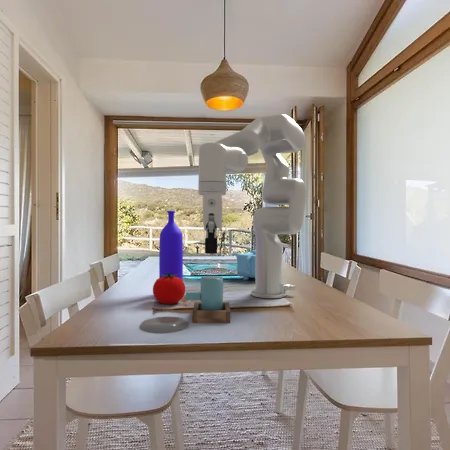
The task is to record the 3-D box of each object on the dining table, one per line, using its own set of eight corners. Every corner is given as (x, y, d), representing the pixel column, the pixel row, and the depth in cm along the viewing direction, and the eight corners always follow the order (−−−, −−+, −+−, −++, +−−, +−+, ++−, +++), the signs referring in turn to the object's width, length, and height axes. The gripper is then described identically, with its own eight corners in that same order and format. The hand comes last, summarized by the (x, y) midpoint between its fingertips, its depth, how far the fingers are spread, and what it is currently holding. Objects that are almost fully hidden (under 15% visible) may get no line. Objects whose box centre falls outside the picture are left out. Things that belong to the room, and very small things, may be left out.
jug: (222, 314, 105) (222, 275, 104) (223, 320, 99) (223, 280, 98) (187, 314, 105) (187, 275, 104) (185, 320, 98) (185, 280, 98)
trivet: (189, 320, 101) (189, 316, 100) (186, 334, 89) (186, 330, 88) (145, 320, 100) (145, 316, 100) (136, 334, 88) (136, 330, 88)
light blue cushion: (275, 277, 167) (275, 249, 166) (259, 283, 154) (259, 252, 153) (240, 274, 176) (240, 247, 176) (223, 279, 163) (223, 250, 163)
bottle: (178, 298, 126) (178, 211, 125) (155, 296, 128) (155, 210, 127) (185, 292, 135) (185, 211, 133) (164, 291, 136) (164, 211, 135)
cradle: (229, 314, 107) (229, 302, 107) (230, 324, 97) (230, 311, 97) (194, 314, 107) (194, 302, 106) (192, 324, 97) (192, 311, 96)
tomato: (149, 301, 121) (149, 271, 121) (180, 299, 125) (180, 269, 125) (156, 309, 112) (156, 276, 111) (189, 306, 115) (189, 274, 115)
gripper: (226, 187, 92) (225, 255, 92) (225, 191, 109) (224, 249, 109) (196, 186, 92) (195, 254, 92) (199, 191, 109) (199, 248, 109)
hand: (211, 251), depth 101 cm, fingers open, 9 cm apart
